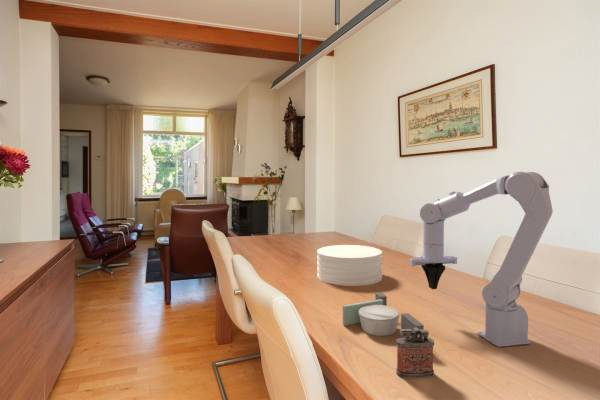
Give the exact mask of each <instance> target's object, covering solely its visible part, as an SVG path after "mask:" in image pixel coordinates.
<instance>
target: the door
mask: <svg viewBox="0 0 600 400" xmlns="http://www.w3.org/2000/svg"><path fill="white" fill-rule="evenodd" d="M367 305H383V300H382V299H379V300H374V299H373V300H368V301H361V302H357V303H350V304H345V305H342V325H344V326H349V325H355V324H358V323H361V321H360V316H359V309H360V308H362V307H364V306H367Z"/></svg>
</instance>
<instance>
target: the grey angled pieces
mask: <svg viewBox="0 0 600 400" xmlns="http://www.w3.org/2000/svg"><path fill="white" fill-rule="evenodd" d="M374 297H375V300H379V299H382V300H383V305H385V306H388V303H387V299H388V298H387V297H388V296H387V295H386V294H384V293H383V292H375V296H374ZM424 326H425V325H424V324H423V323H421V321H419V320H418V319H416V318H415V317H413V315H412V314H410V313H407V312H405V313H401V315H400V330H401V329H411V330H413V328H415V327H417V328H418V329H419V330H421V329H425V328H424ZM423 337H424V336H423ZM400 338H404V337H401V336H400Z"/></svg>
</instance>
